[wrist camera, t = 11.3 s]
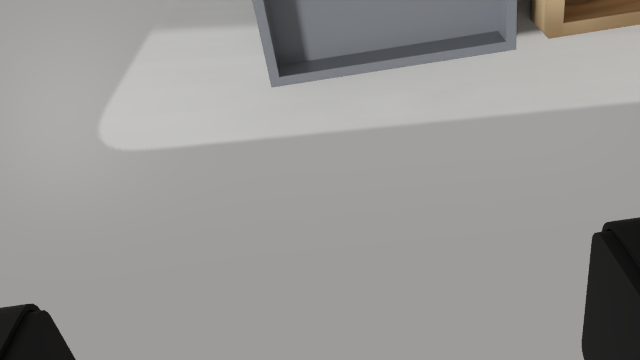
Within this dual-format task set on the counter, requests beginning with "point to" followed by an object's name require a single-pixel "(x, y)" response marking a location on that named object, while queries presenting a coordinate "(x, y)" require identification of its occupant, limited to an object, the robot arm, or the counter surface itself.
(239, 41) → the counter surface
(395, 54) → the container
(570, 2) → the tray
